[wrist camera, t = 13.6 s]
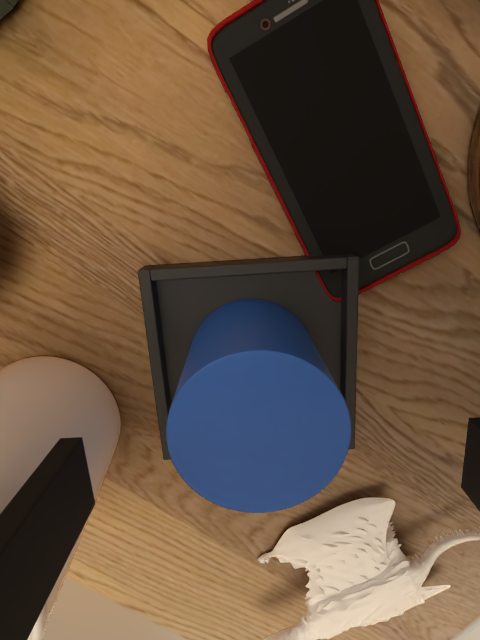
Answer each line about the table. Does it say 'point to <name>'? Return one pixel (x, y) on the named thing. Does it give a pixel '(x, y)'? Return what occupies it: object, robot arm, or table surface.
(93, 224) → the table surface
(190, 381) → the blue pillar candle
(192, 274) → the tray
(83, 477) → the robot arm
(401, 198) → the cell phone
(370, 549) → the winged dragon toy
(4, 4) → the bowl
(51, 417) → the candle holder
